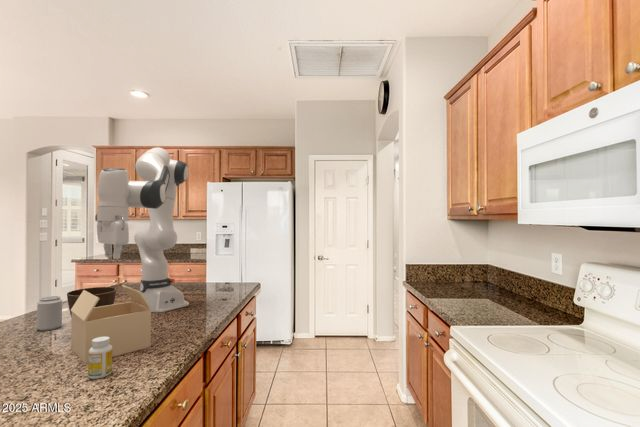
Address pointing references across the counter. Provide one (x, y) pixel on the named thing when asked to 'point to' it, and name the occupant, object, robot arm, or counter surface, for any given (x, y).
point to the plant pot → (101, 292)
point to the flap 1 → (84, 305)
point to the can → (49, 313)
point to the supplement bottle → (100, 358)
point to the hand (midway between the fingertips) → (112, 257)
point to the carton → (112, 329)
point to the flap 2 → (136, 296)
